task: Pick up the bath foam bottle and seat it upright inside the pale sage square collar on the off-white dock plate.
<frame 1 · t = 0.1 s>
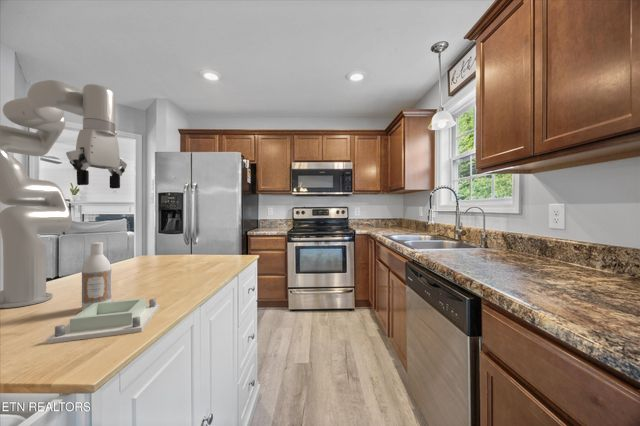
hand: (99, 186, 80), 37 cm above the worktop, tool pointing down, fingers open, 9 cm apart
dock: (112, 322, 71), on the worktop
bath foam: (97, 308, 82), on the worktop
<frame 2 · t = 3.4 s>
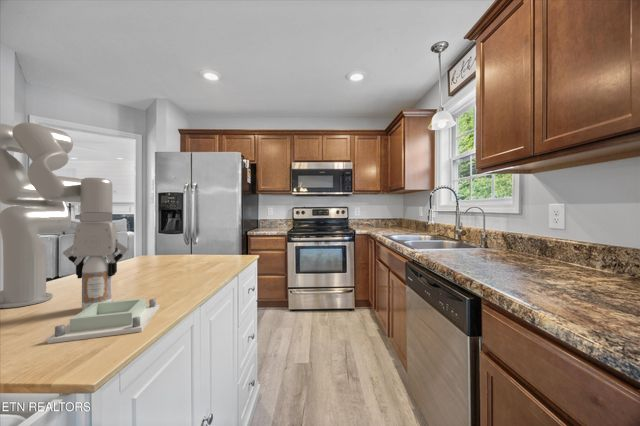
hand: (97, 276, 82), 10 cm above the worktop, tool pointing down, fingers closed on bath foam, 7 cm apart
bath foam: (97, 308, 82), on the worktop, touching gripper
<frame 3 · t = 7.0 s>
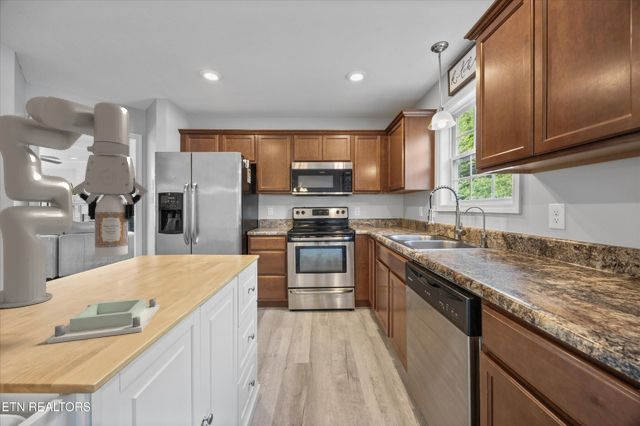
hand: (112, 218, 71), 27 cm above the worktop, tool pointing down, fingers closed on bath foam, 7 cm apart
bath foam: (111, 256, 71), point 17 cm above the worktop, touching gripper
when the fingers open (12 cm above the worktop, at t = 10.8 s): bath foam stays where it is, resting on dock.
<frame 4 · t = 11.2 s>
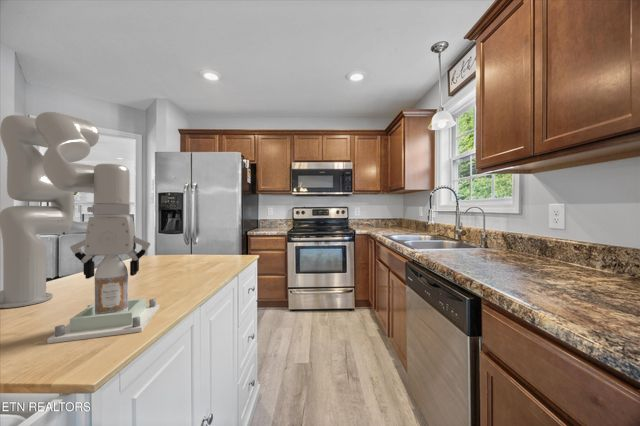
hand: (112, 276, 71), 12 cm above the worktop, tool pointing down, fingers open, 9 cm apart
bath foam: (112, 319, 71), point 1 cm above the worktop, touching dock
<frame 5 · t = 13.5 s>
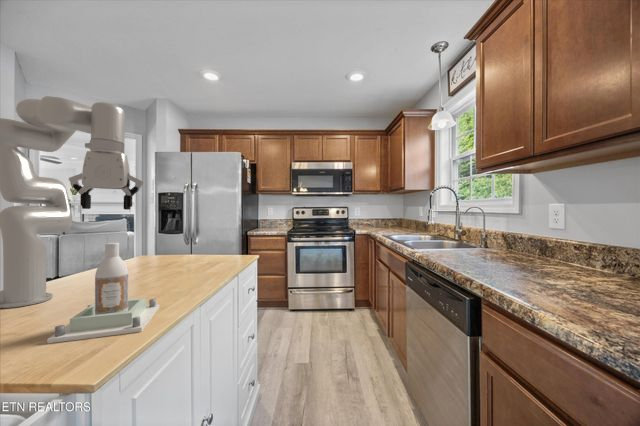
hand: (107, 209, 76), 30 cm above the worktop, tool pointing down, fingers open, 9 cm apart
nothing on the worktop moved.
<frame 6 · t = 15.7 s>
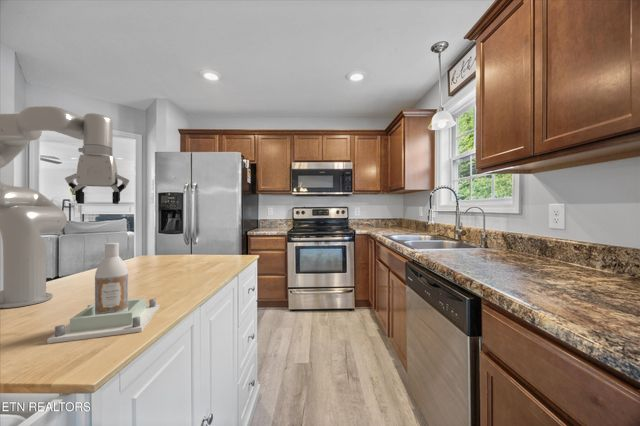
hand: (98, 203, 90), 32 cm above the worktop, tool pointing down, fingers open, 9 cm apart
nothing on the worktop moved.
at the end: bath foam 0.2 cm off-centre on the dock, point 0.8 cm above the dock's base; bath foam tilted 0°; the gripper is holding nothing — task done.
